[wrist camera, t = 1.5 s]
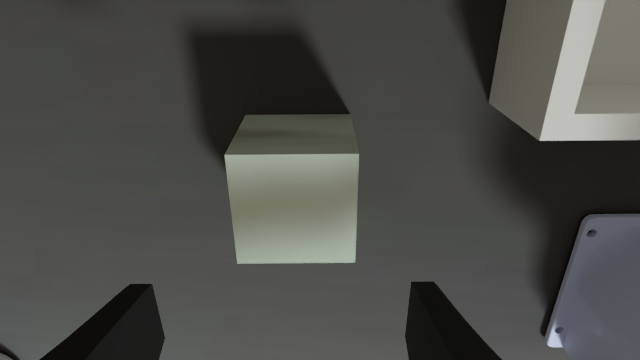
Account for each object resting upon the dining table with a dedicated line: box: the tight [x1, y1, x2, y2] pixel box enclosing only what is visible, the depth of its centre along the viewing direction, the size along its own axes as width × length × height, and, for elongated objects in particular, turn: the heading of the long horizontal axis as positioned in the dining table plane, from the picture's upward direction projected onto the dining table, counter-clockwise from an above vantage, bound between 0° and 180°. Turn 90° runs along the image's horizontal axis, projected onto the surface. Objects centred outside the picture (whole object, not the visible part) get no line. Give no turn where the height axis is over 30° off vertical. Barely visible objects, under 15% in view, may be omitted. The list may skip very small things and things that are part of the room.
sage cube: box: [224, 114, 359, 264], centre depth 19 cm, size 5×5×5 cm
